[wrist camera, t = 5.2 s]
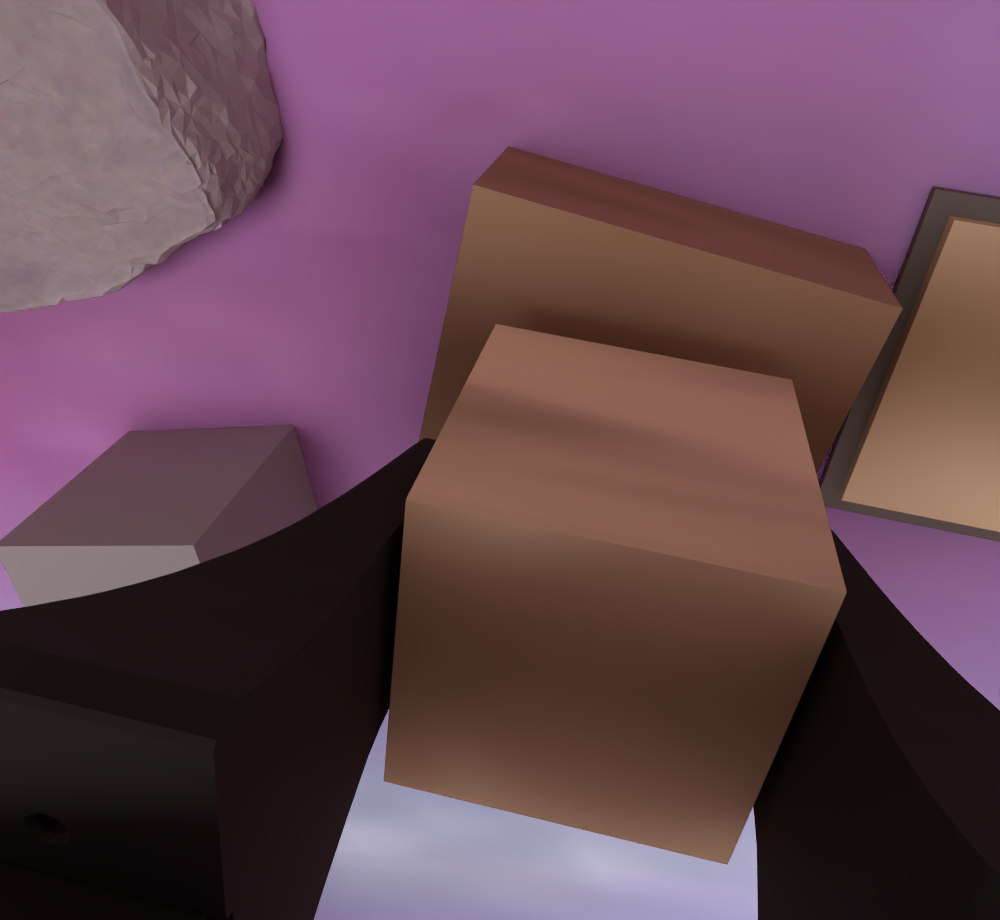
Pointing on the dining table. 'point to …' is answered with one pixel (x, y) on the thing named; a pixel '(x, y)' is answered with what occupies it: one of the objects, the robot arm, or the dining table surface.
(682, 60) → the dining table surface
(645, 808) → the maple block
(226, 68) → the stone block
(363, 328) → the dining table surface
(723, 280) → the walnut block
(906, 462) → the tile
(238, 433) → the slate block
